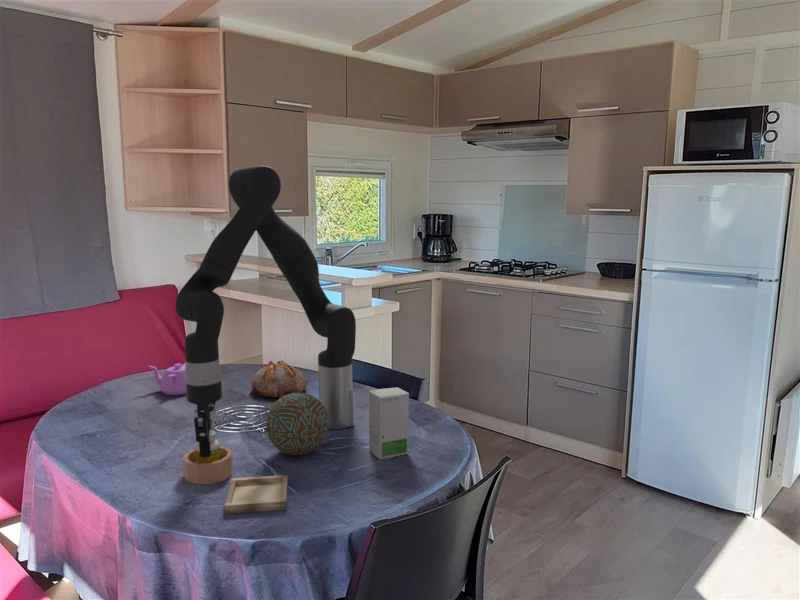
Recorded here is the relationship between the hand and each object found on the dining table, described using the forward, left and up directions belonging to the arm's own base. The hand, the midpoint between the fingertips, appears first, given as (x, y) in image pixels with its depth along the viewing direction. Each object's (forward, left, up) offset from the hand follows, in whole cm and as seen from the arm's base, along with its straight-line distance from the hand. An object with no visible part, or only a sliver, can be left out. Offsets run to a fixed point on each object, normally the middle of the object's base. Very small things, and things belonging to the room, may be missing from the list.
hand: (207, 450), depth 142 cm
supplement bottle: (0, 0, -6) cm, 6 cm away
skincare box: (-42, -6, -6) cm, 43 cm away
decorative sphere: (-20, -9, -6) cm, 23 cm away
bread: (-13, -58, -6) cm, 60 cm away
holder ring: (0, 0, -5) cm, 5 cm away
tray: (-12, +13, -5) cm, 19 cm away
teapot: (+19, -63, -6) cm, 66 cm away
